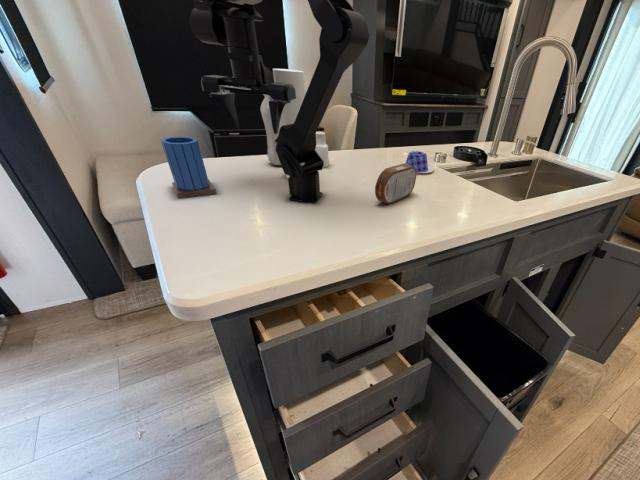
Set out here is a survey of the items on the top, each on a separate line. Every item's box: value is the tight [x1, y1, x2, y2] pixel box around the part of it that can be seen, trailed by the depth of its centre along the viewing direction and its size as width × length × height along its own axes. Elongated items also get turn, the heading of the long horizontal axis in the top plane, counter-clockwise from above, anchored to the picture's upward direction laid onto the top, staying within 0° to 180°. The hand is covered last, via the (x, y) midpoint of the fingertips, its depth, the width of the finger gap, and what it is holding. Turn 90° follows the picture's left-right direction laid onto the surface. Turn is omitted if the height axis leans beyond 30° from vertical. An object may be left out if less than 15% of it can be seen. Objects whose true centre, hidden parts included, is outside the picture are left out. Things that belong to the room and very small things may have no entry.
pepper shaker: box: [315, 131, 330, 168], centre depth 100 cm, size 4×4×10 cm
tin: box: [374, 162, 418, 205], centre depth 82 cm, size 15×3×8 cm, turn 145°
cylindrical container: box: [272, 68, 306, 179], centre depth 85 cm, size 7×7×25 cm
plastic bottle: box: [259, 94, 282, 166], centre depth 94 cm, size 6×7×20 cm
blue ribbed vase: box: [160, 136, 209, 191], centre depth 74 cm, size 7×7×10 cm
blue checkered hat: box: [398, 150, 435, 174], centre depth 107 cm, size 12×12×5 cm
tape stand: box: [171, 178, 217, 199], centre depth 76 cm, size 8×8×6 cm
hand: (256, 131), depth 76 cm, fingers open, 9 cm apart
